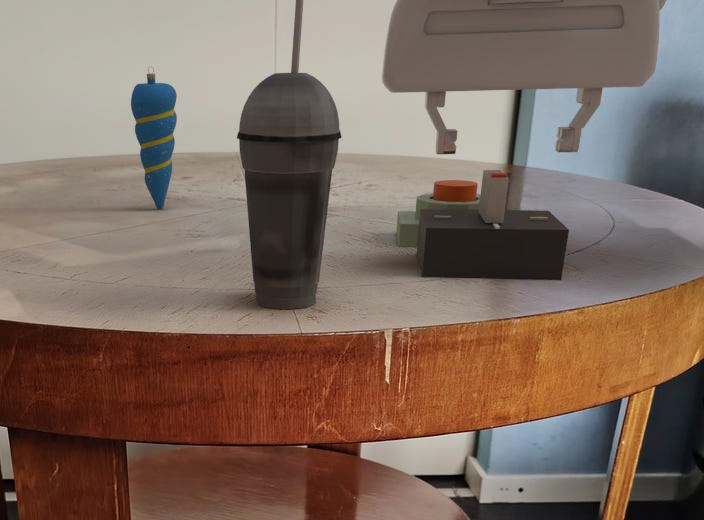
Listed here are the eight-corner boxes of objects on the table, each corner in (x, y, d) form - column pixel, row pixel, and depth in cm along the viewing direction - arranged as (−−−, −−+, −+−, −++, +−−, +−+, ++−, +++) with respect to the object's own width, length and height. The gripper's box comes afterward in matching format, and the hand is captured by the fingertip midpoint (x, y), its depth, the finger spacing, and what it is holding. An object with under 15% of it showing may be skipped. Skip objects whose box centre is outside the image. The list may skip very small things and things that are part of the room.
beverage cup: (308, 285, 72) (317, -2, 62) (352, 307, 66) (369, -7, 56) (223, 294, 69) (219, -3, 60) (260, 318, 63) (262, -8, 54)
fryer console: (541, 256, 80) (548, 208, 78) (561, 281, 72) (569, 227, 70) (416, 254, 82) (420, 206, 80) (421, 278, 74) (426, 225, 72)
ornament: (189, 209, 105) (185, 66, 98) (153, 214, 102) (146, 67, 95) (163, 204, 108) (158, 65, 101) (128, 209, 105) (119, 67, 98)
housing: (498, 235, 89) (503, 192, 87) (508, 249, 83) (514, 204, 81) (396, 233, 91) (399, 191, 89) (398, 247, 84) (401, 203, 83)
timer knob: (478, 212, 77) (483, 166, 76) (495, 213, 77) (500, 166, 75) (485, 223, 73) (491, 174, 71) (502, 223, 73) (509, 174, 71)
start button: (473, 199, 87) (475, 180, 86) (477, 206, 83) (480, 186, 82) (431, 198, 87) (432, 179, 86) (433, 205, 84) (435, 185, 83)
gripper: (662, -51, 67) (630, 146, 74) (386, -39, 70) (377, 150, 76) (690, -60, 62) (652, 154, 68) (389, -47, 64) (379, 159, 71)
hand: (505, 152), depth 72 cm, fingers open, 8 cm apart
